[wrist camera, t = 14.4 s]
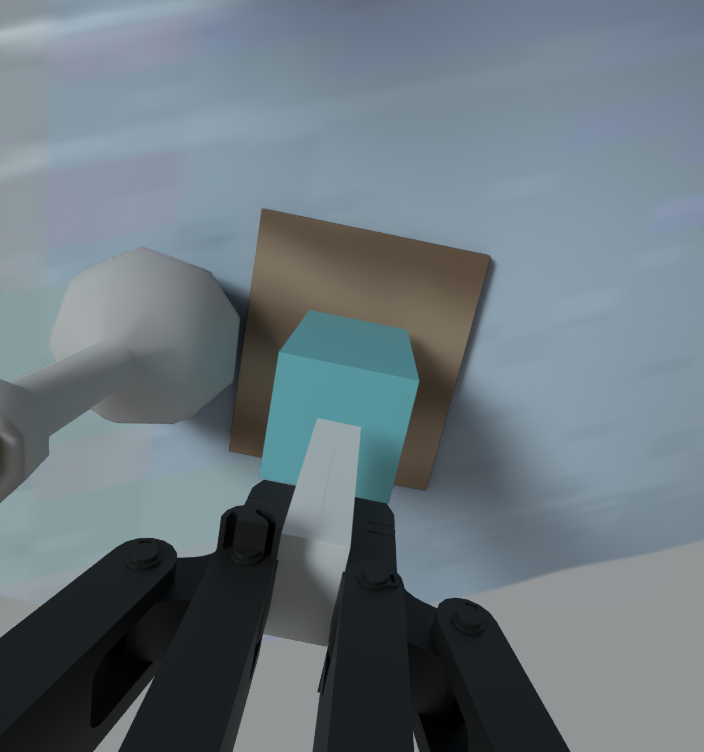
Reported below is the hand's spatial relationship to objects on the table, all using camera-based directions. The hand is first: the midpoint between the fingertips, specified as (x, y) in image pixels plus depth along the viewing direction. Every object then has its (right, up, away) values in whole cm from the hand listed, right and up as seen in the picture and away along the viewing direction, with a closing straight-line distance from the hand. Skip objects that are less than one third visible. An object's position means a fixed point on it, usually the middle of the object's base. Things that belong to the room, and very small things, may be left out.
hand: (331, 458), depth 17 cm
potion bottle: (-9, +6, +12) cm, 16 cm away
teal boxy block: (+1, +3, +10) cm, 11 cm away
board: (+1, +4, +12) cm, 12 cm away
